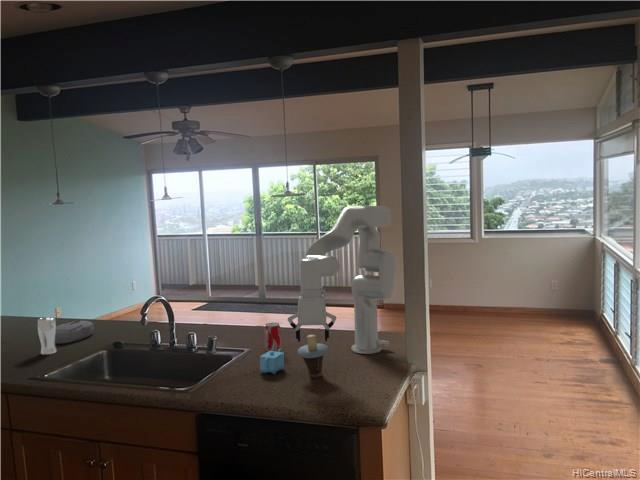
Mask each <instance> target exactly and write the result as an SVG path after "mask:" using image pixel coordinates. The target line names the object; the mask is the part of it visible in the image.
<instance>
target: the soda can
mask: <svg viewBox="0 0 640 480" xmlns="http://www.w3.org/2000/svg"><path fill="white" fill-rule="evenodd" d="M263 331H264V333H263V336H264V337H263V339H264V351H265V353H267V352H269V351H274V352H278V350H279V349H281V350H282V343H283V342H282V328H281V326H280V323H279V322H268V323H266V324H265V326H264V329H263Z"/></svg>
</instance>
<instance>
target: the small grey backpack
mask: <svg viewBox="0 0 640 480" xmlns="http://www.w3.org/2000/svg"><path fill="white" fill-rule="evenodd" d="M94 331H95V326H94V323H93V322H92V321H89V320H80V319H78V320H75V319H73V320H69V321H67V322H64V323H62V324H59V325H56V338H55V345H56V344H69V343H73V342H77V341H81V340H84V339H86V338H88V337H90V336H91V335H93V333H95V332H94Z"/></svg>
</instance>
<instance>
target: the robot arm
mask: <svg viewBox="0 0 640 480" xmlns="http://www.w3.org/2000/svg"><path fill="white" fill-rule="evenodd" d="M391 220H392V212H391V210H390V208H389V207H388V206H387V205H386V206H385V205H348V206H345V207H344V208H343V209H342V210H341V212H340V214H339V215H338V217H337V218H336V220H335V222H334V224H333V225H332V227H331V229H330V230H329V232H327V233H325V234H323V235H322V236H320V237H319V238H318V239H316V240H315V241H313V243H311V245H309V247H308V248H307V250H306V252H305V254H304V256H303V258H302V259H301V260H300V261H299V276H300V277H299V278H300V279H299V281H300V296H298V301H297V312H296V313H293V314H292V315H290V316H289V317H288V318H287V321H288V323H289V325H290V326H291V328H292V329H293V330H294V331H295V339H296V340H297V342H298V343H300V342H301V327H302V326H323V328H324V341H325V342H327V341H328V339H329V338H330V329H331V328H332V327H333V326H334V324H335V322H336V320H337V316H336V315H334V314H332V313H330V312H328V311H327V306H326V299H325V295H324V294H327V289H326V288H325V289H324V288H323V287H322V284H323V283H322V281H323V280H322V278H324V277H325V278H326V277H327V278H328V277H333V276H335V275H336V274H338V272H339V271H340V268H341V267H340V266H341V265H340V261H339V260H338V258H336V257H334V256H333V255H325V254H327V253H330V252H332V251H335V250H339V249H341V248H344V247H346V246H347V245H349V243H350V242H351V240H352V238H353V236H354V234H355V233H356V231H357V232H358V234H359V245H358V254H357V255H358V256H357V267H358V269H359V270H360V271H363V272H367V273H368V272H370V273H379V275H374V274H373V275H372V274H359V275H356V276H354V277H353V279H352V280H351V283H350V284H351V293H352V297H353V307H354V308H353V309H354V312H353V313H354V314H353V315H354V344H353V345H352V346H351V348H350V349H351V351H352V352H353V353H357V354H359V355H360V354H361V355H372V354H377V353H380V352H382V347H383V346H385V347H389V346H390V341H389V340H385V339H379V337H378V333H379V332H378V328H379V327H378V306H377V303H376V302H375V300H378V301H379V300H380V301H381V300H382V301H385V300H390V298H391V297H392V295H393V294H394V293H393V292H394V287H395V286H394V285H395V275H396V267H397V266H396V265H397V264H396V263H397V261H396V255H395V254H394V252H393V251H391V250H389V249H381V247H380V246H381V235H380V233H379V231H378V230H377V228H385V227H387V226H389V224H390V222H391ZM327 318H328V319H331V321H329V323H327ZM295 319H297V324H296V323H295V322H294V321H293V320H295Z"/></svg>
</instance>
